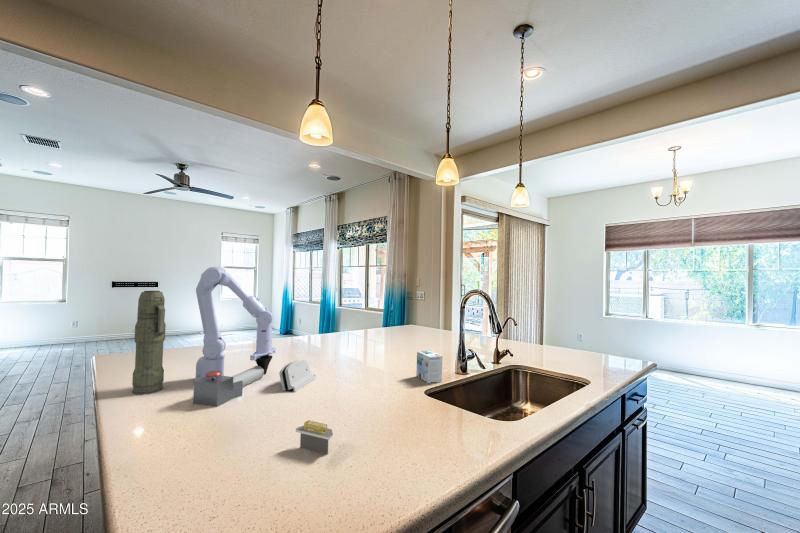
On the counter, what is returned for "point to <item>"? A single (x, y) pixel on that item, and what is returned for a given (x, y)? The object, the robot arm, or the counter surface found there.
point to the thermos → (149, 343)
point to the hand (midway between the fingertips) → (262, 374)
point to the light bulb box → (429, 366)
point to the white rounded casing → (296, 375)
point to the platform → (315, 437)
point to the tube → (249, 375)
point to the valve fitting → (216, 389)
